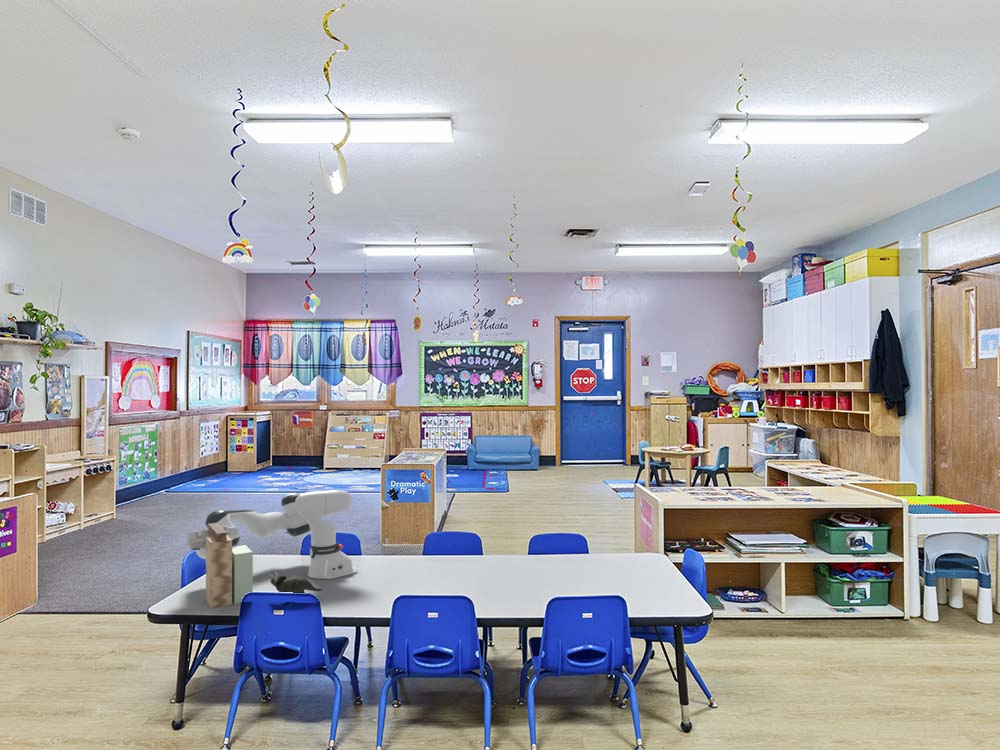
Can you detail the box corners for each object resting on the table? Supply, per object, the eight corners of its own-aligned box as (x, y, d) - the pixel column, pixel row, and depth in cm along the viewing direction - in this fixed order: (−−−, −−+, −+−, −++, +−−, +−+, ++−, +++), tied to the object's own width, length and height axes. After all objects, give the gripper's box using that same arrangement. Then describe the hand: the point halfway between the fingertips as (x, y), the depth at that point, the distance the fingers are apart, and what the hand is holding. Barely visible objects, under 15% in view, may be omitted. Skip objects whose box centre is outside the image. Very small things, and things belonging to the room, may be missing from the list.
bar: (216, 530, 277) (216, 522, 277) (226, 541, 259) (226, 532, 259) (207, 532, 275) (207, 523, 275) (217, 542, 257) (217, 533, 257)
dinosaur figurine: (323, 597, 268) (323, 570, 268) (317, 604, 260) (317, 576, 260) (270, 598, 268) (270, 570, 268) (263, 605, 260) (263, 577, 260)
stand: (227, 596, 270) (227, 534, 270) (232, 604, 260) (232, 540, 261) (205, 600, 265) (205, 537, 266) (210, 608, 256) (210, 542, 256)
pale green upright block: (245, 591, 277) (245, 544, 277) (253, 600, 265) (253, 552, 265) (227, 594, 273) (227, 547, 273) (234, 604, 261) (234, 554, 261)
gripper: (236, 543, 285) (242, 533, 275) (185, 550, 274) (189, 539, 264) (234, 530, 287) (240, 519, 278) (184, 536, 276) (188, 525, 266)
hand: (215, 529), depth 270 cm, fingers open, 7 cm apart
